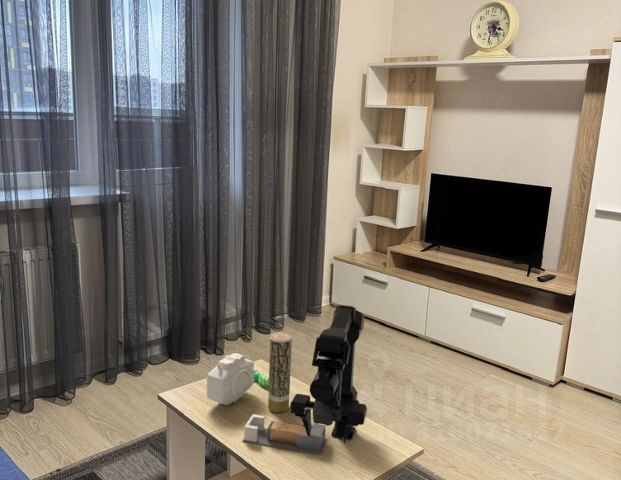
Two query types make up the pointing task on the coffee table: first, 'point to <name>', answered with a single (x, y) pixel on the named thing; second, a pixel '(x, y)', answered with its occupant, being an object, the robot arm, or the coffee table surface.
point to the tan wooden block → (284, 432)
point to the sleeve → (312, 438)
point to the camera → (230, 379)
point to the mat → (280, 443)
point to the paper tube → (279, 372)
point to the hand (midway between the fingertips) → (326, 439)
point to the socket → (253, 428)
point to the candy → (261, 379)
